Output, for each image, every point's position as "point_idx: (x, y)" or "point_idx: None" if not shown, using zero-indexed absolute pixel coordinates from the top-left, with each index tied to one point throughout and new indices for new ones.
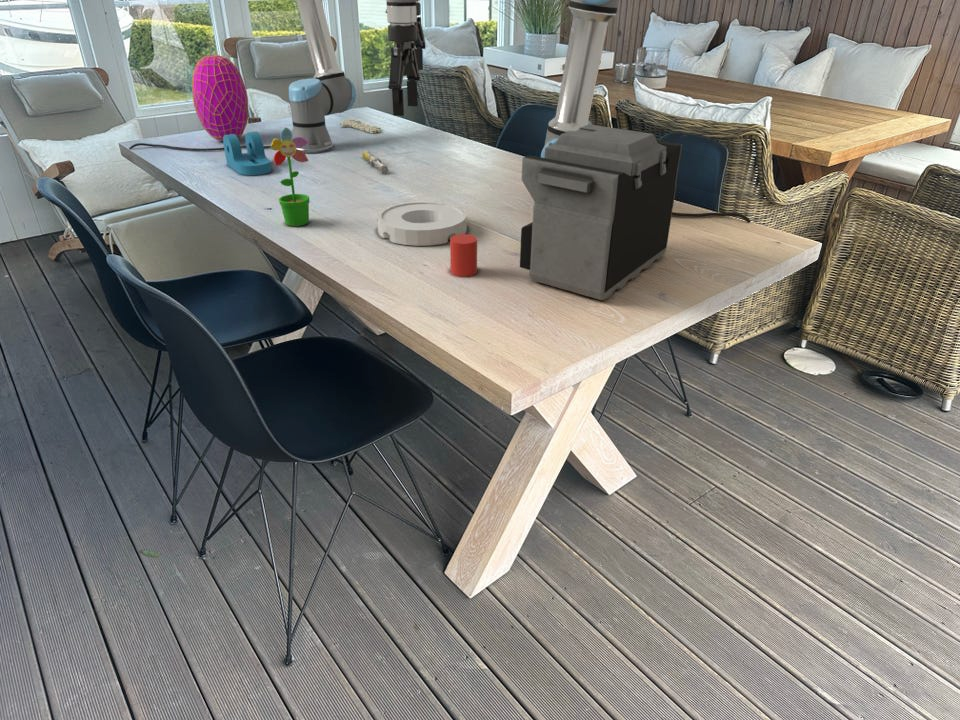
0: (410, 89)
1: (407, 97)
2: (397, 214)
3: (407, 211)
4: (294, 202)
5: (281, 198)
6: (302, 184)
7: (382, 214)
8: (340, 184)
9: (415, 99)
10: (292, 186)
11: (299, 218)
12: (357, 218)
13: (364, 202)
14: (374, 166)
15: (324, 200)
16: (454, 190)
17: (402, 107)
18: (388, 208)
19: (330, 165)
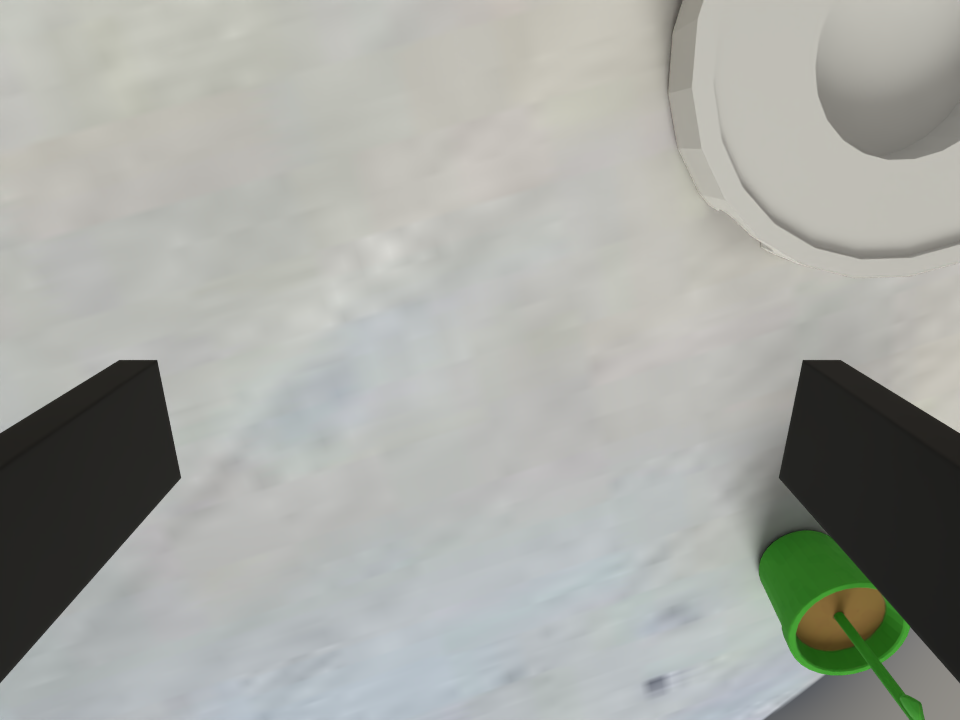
0: (16, 587)
1: (120, 545)
2: (891, 186)
3: (843, 150)
4: None
5: (843, 668)
6: (359, 692)
7: (893, 257)
8: (313, 580)
9: (104, 419)
10: (887, 671)
11: None
12: (727, 386)
13: (521, 424)
14: None
15: (528, 566)
16: (216, 52)
17: (915, 409)
18: (825, 251)
19: (81, 691)
